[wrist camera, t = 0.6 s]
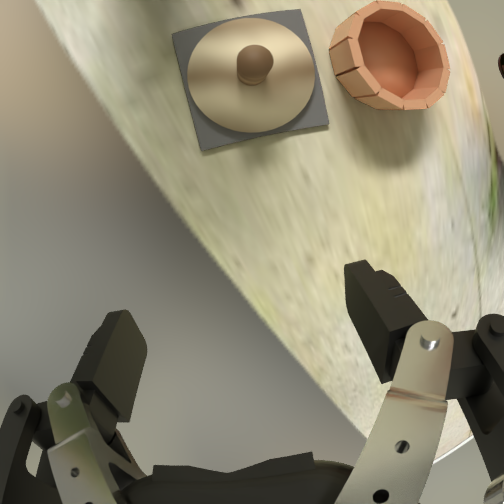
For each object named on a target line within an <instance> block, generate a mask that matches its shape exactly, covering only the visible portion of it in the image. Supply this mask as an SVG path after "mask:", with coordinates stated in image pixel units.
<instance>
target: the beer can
mask: <svg viewBox="0 0 504 504" xmlns="http://www.w3.org/2000/svg"><path fill="white" fill-rule="evenodd" d="M498 66H499V70H500V72H501V75H502V77H503V78H504V53H503V54H502V55H500V57H499V59H498Z"/></svg>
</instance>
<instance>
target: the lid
mask: <svg viewBox="0 0 504 504" xmlns="http://www.w3.org/2000/svg"><path fill="white" fill-rule="evenodd" d="M187 80H188V86H189V90H190V93H191V96H192V98H193V100H194V102H195V103H196V105H197V106H198V107H199V109H200V110H201V111H202V112H203V113H204V114H205V115H206V116H207V117H208V118H210V119H211V120H212V121H214V122H215V123H217V124H219V125H221V126H223V127H225V128H228V129H231V130H235V131H239V132H248V133H252V132H263V131H268V130H272V129H275V128H278V127H280V126H282V125H284V124H286V123H288V122H289V121H291V120H292V119H293V118H295V117H296V116H297V115H298V114H299V113H300V112H301V111H302V110H303V108H304V107H305V106H306V104H307V102H308V101H309V99H310V96H311V94H312V91H313V87H314V82H315V69H314V64H313V60H312V57H311V55H310V53H309V51H308V49H307V47H306V46H305V44H304V43H303V42H302V41H301V39H300V38H299V37H298V36H297V35H296V34H294V33H293V32H292V31H291V30H289V29H288V28H286V27H284V26H282V25H280V24H278V23H276V22H273V21H270V20H265V19H260V18H242V19H236V20H232V21H228V22H226V23H223V24H221V25H219V26H217V27H215V28H214V29H212V30H211V31H210V32H208V33H207V34H206V35H205V36H204V37H203V38H202V39H201V40H200V41H199V43H198V44H197V45H196V47H195V49H194V50H193V52H192V55H191V57H190V60H189V64H188V71H187Z"/></svg>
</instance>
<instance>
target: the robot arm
mask: <svg viewBox="0 0 504 504" xmlns="http://www.w3.org/2000/svg"><path fill="white" fill-rule="evenodd" d="M344 276H345V297H346V306H347V310H348V314H349V316H350V318H351V320H352V322H353V324H354V326H355V328H356V330H357V332H358V335H359V337H360V339H361V341H362V343H363V345H364V347H365V349H366V351H367V353H368V356H369V358H370V360H371V362H372V364H373V366H374V368H375V371H376V373H377V375H378V377H379V379H380V382H381V384H383V383H386V382H389V381H392V384H391V387H390V390H388V392H387V394H386V396H385V399H384V401H383V404H382V407H381V409H380V412H379V414H378V417H377V419H376V421H375V424H374V426H373V428H372V431H371V433H370V435H369V438H368V440H367V442H366V444H365V446H364V449H363V451H362V453H361V455H360V457H359V459H358V461H357V463H356V465H355V467H353V466H350V465H347V464H344V463H339V462H334V461H325V460H314V459H313V454H312V452H308V453H302V454H297V455H292V456H287V457H281V458H275V459H269V460H267V461H264V462H261V463H258V464H255V465H253V466H250V467H247V468H244V469H241V470H237V471H234V472H230V473H223V472H217V471H212V470H207V469H202V468H197V467H192V466H167V465H166V466H165V465H154V466H153V474H152V475H149V476H147V475H146V474H145V473H144V472H143V471H142V470H141V469H140V467H139V466H138V464H137V463H136V461H135V459H134V458H133V456H132V454H131V452H130V450H129V449H128V447H127V445H126V443H125V442H124V439H123V437H122V436H121V434H120V432H119V431H118V430H117V429H116V424H117V422H129V421H130V418H131V413H132V409H133V405H134V401H135V397H136V393H137V389H138V385H139V381H140V378H141V374H142V370H143V367H144V363H145V359H146V356H147V345H146V341H145V339H144V337H143V335H142V334H141V332H140V330H139V328H138V326H137V325H136V323H135V321H134V319H133V317H132V315H131V314H130V312H129V311H128V310H120V311H114V312H109V313H108V314H107V315H106V317H105V319H104V321H103V323H102V325H101V327H99V328H98V330H97V331H96V332H95V333H94V334H93V335H92V336H91V339H90V341H89V343H88V345H87V347H86V349H85V351H84V353H83V354H84V355H83V356H82V357H81V359H80V361H79V363H78V366H77V368H76V370H75V372H74V374H73V377H72V379H71V381H70V382H66V383H62V384H60V385H58V386H57V387H56V388H55V389H54V390H53V391H52V392H51V393H50V395H49V397H48V401H45V402H42V403H38V404H36V403H35V402H34V401H33V400H32V399H31V398H30V397H29V396H28V395H21V396H19V397H17V398H16V399H14V400H13V402H12V403H11V405H10V406H9V408H8V410H7V413H6V415H5V418H4V420H3V423H2V425H1V428H0V504H420V503H418V502H419V499H420V497H421V494H422V492H423V489H424V487H425V484H426V481H427V479H428V476H429V473H430V470H431V467H432V464H433V461H434V458H435V455H436V451H437V448H438V444H439V441H440V437H441V433H442V429H443V425H444V421H445V417H446V412H447V406H448V402H447V401H445V400H450V399H457V400H458V402H459V404H460V406H461V409H462V411H463V413H464V415H465V417H466V419H467V422H468V424H469V426H470V428H471V431H472V433H473V435H474V438H475V440H476V442H477V445H478V447H479V450H480V452H481V455H482V457H483V460H484V462H485V465H486V468H487V470H488V473H489V476H490V479H491V484H490V485H489V486H488V488H487V490H486V493H485V496H484V504H504V316H502V315H499V314H488V315H485V316H483V317H482V318H481V319H480V320H479V322H478V324H477V327H476V330H468V331H460V332H451V331H450V329H449V328H448V327H447V326H445V325H444V324H442V323H440V322H437V321H431V320H428V319H427V318H426V317H425V315H424V314H423V313H422V311H421V310H420V309H419V307H418V306H417V305H416V304H415V302H414V301H413V300H412V298H411V297H410V296H409V295H408V294H407V293H406V291H405V290H404V288H403V287H401V285H400V283H399V282H398V281H397V280H396V279H395V277H394V276H392V275H391V274H389V273H387V272H385V271H383V270H379V271H376V272H375V271H374V269H373V268H372V267H371V266H370V264H369V263H368V262H367V261H366V260H361V261H357V262H353V263H349V264H345V266H344ZM32 441H33V442H34V443H35V444H36V445H38V446H39V447H40V448H41V449H42V450H43V451H42V455H41V458H40V462H39V466H38V470H37V474H36V477H34V476H33V475H31V474H30V473H29V472H28V470H27V468H26V459H27V455H28V452H29V449H30V446H31V442H32Z"/></svg>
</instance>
